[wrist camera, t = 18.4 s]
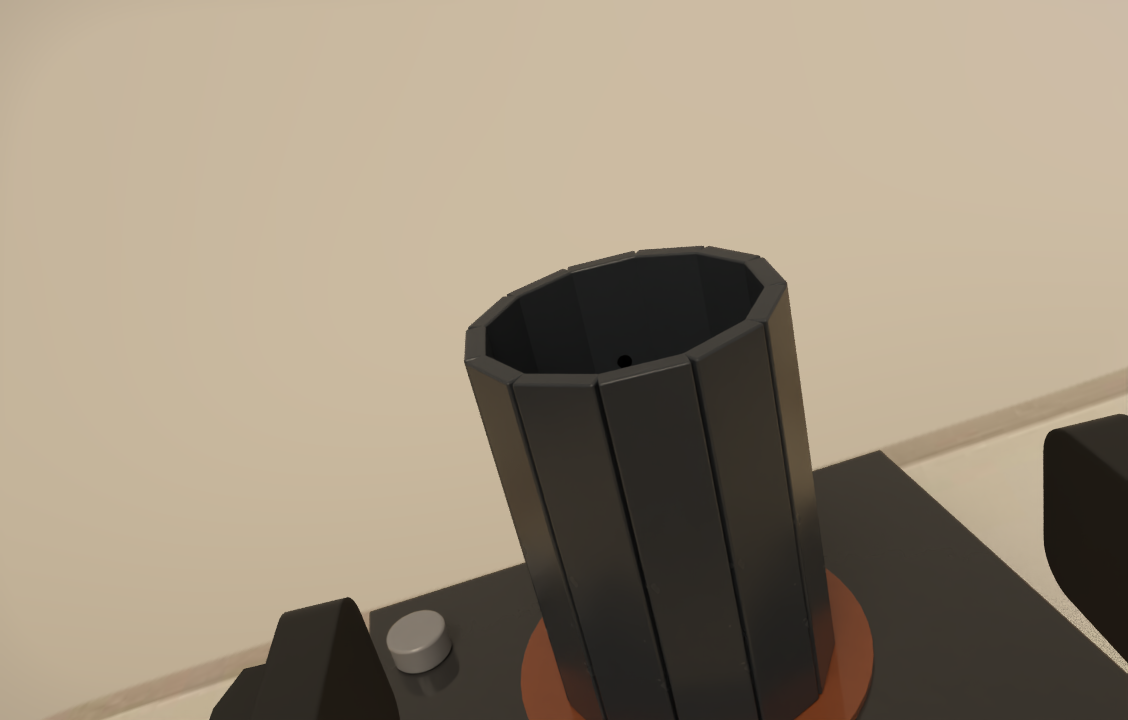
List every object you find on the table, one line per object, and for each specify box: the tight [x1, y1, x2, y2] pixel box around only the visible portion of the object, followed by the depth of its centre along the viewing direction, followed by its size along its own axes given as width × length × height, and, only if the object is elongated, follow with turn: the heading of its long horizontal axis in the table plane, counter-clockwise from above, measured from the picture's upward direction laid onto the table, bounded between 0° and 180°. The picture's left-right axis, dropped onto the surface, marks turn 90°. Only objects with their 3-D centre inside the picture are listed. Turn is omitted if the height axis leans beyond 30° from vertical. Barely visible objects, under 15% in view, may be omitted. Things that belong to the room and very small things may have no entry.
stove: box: [369, 450, 1128, 720], centre depth 22 cm, size 16×11×2 cm
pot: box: [464, 246, 835, 720], centre depth 22 cm, size 12×6×9 cm, turn 5°
